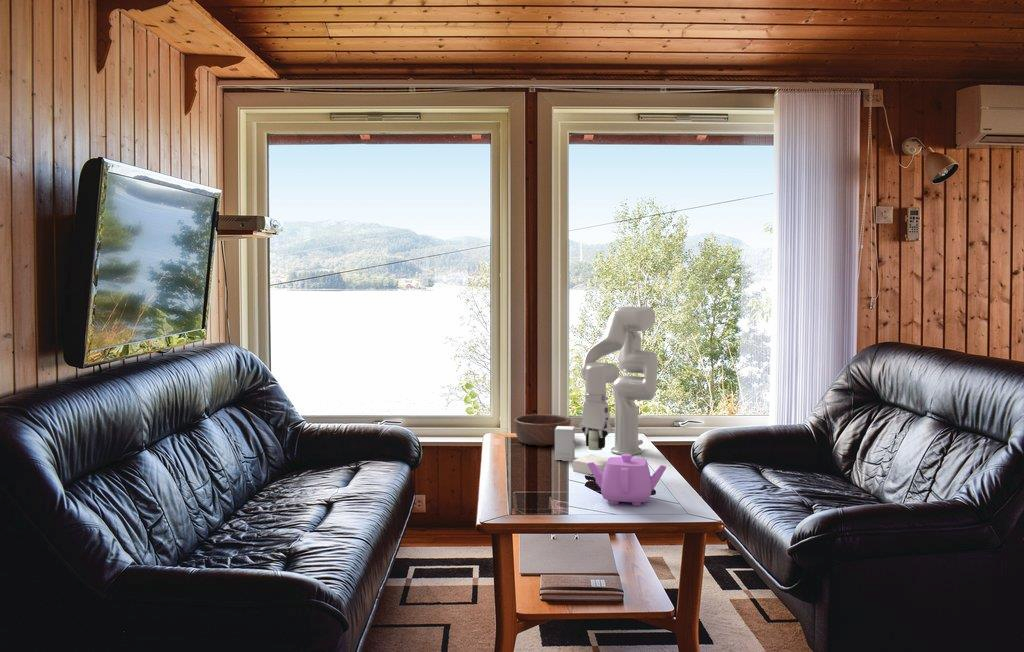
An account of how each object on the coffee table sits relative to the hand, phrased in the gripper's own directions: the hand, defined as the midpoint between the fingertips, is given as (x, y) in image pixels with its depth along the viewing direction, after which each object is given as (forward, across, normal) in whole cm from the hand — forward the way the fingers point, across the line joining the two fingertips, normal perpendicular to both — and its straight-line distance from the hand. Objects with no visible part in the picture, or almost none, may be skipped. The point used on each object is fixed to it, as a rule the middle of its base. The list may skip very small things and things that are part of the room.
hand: (595, 446), depth 278 cm
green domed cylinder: (+1, 0, 0) cm, 1 cm away
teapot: (+10, -30, +25) cm, 40 cm away
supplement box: (+9, +20, -7) cm, 23 cm away
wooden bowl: (+9, +47, -26) cm, 55 cm away
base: (+9, 0, 0) cm, 9 cm away
